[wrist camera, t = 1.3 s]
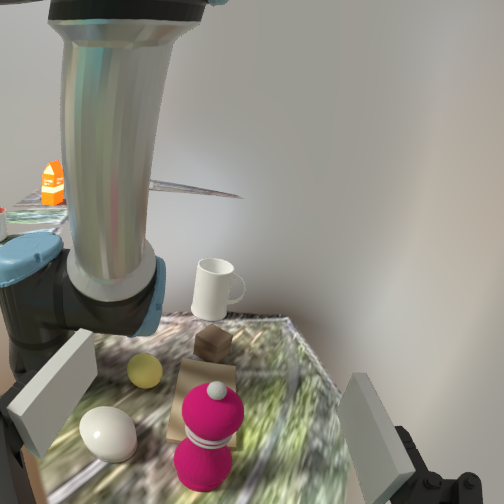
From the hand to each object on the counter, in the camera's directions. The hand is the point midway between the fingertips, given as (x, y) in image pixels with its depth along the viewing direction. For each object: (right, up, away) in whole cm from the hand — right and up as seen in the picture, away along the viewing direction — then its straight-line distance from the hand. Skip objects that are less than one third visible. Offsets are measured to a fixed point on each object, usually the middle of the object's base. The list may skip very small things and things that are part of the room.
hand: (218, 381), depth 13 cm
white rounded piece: (-18, -21, +19) cm, 33 cm away
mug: (-7, -8, +56) cm, 57 cm away
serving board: (-6, -18, +31) cm, 36 cm away
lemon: (-16, -16, +31) cm, 39 cm away
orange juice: (-93, +29, +104) cm, 143 cm away
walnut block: (-6, -14, +43) cm, 45 cm away
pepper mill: (-5, -24, +18) cm, 30 cm away
